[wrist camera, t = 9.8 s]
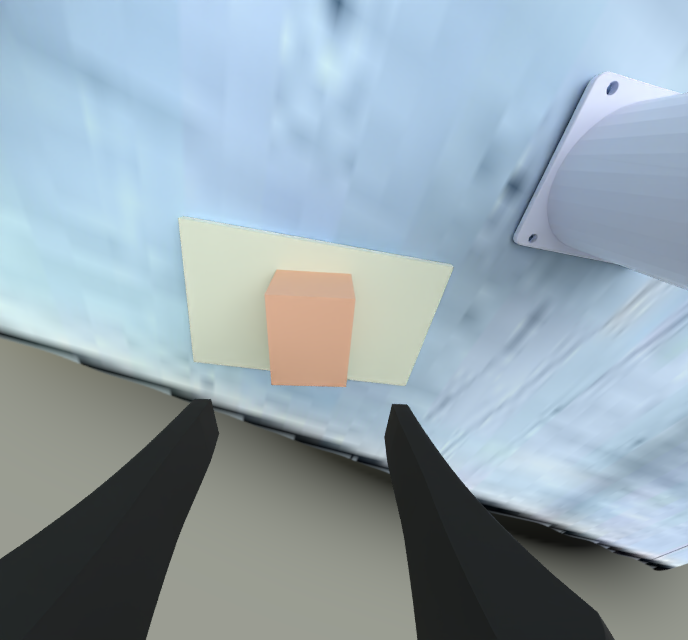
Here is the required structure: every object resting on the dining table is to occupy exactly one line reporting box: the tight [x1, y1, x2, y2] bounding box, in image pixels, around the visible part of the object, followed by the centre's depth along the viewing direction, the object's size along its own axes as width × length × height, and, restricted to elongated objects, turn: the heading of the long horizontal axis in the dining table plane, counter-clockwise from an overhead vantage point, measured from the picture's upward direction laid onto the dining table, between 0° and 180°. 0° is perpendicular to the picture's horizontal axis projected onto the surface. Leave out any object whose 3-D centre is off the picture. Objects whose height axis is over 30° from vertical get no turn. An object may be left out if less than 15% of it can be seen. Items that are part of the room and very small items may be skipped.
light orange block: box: [265, 270, 355, 387], centre depth 17 cm, size 6×4×4 cm
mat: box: [178, 216, 454, 386], centre depth 19 cm, size 16×10×1 cm, turn 79°
